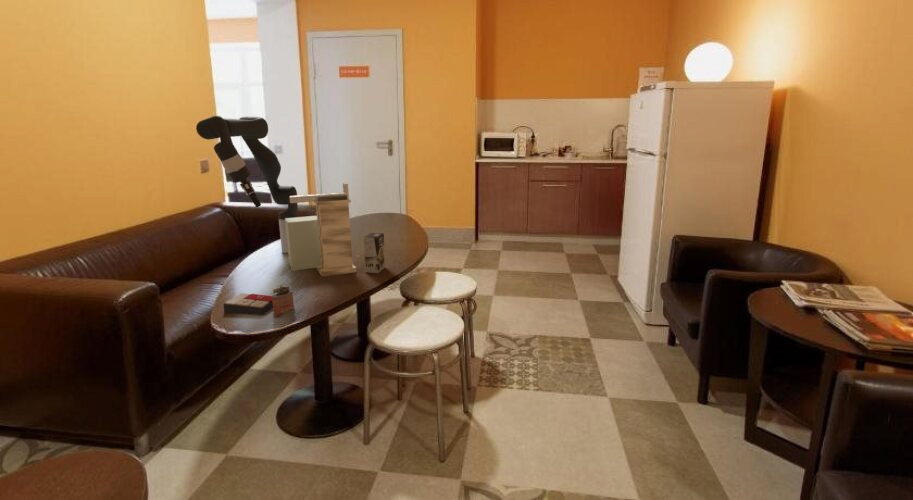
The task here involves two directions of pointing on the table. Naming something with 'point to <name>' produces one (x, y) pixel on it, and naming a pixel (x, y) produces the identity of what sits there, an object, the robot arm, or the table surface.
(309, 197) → the hook bar
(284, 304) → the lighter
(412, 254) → the table surface
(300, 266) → the upright cream box
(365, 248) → the coffee box
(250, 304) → the red and beige box
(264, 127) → the robot arm
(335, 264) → the tall stand
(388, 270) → the table surface
